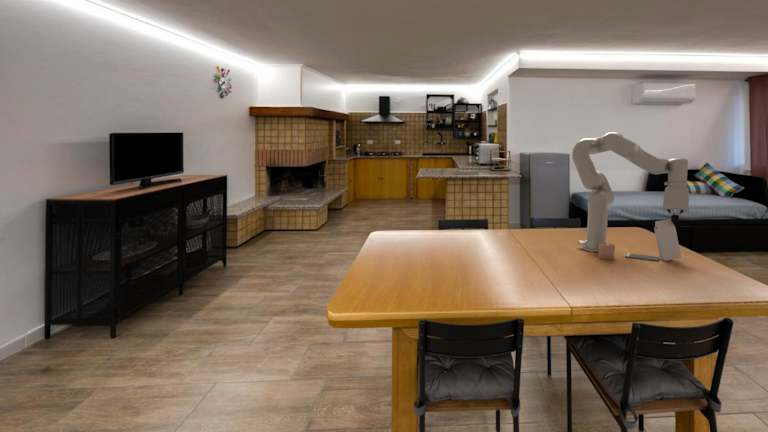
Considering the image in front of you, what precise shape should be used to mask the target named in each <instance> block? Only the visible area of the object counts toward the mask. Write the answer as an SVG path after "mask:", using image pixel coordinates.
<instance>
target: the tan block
mask: <svg viewBox="0 0 768 432" xmlns="http://www.w3.org/2000/svg"><path fill="white" fill-rule="evenodd" d="M615 249H616V244H614V243H609V242H606V243H600V244H599V252H598V256H597V257H598V259H599V260H603V261H613V260H615V252H616V251H615Z"/></svg>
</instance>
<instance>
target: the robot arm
mask: <svg viewBox="0 0 768 432" xmlns="http://www.w3.org/2000/svg"><path fill="white" fill-rule="evenodd" d="M609 151H610V152H612V153H615V155H618V156H620V157H622V158H623V159H625V160H628V162H630V163H632V164H634V165H635V166H636V167H638V168H640V169H642V170H644V171H646V172H647V173H649V174H652V175H661V174H667V181H665V182H663V184H664V186H666V187H665V189H664V193H663V198H662V199H663V200H662V201H663V202H662V211H665V212H668V213H669V214H670V215H671V217H670V219H671V221H672V222H673V224H674V225H675V224H678V222H679V220H680V215H681V214H683V213H686V212H689V211H690V207H689V206H690V192H689V191H690V190H689V187H688V186H687V184H688V169H689V167H688V166H689V160H688V159H687V158H685V157H684V158H683V157H682V158H664V157H663V158H662V157H659V158H658V157H656V156H655V155H652V154H650V153H649V152H647V151H645V150H644V149H642V147H641V146H640V145H639V144H637V143H635V142H634V141H631V140H630V139H628V138H626V137H624V136H623V134H621V132H614V131H611V132H607V133H605V134H604V135H603V136H598V137H594V138H589V137H588V138H587V137H586V138H582V139H581V140H579V141H578V142H577V143H576V144H575V145H574V147H573V149H572V154H571V156H572V160H573V163H574V166H575V168H576V171H577V173H578V176H579V179H580V180H581V183H582V186H583V187H584V188H585V189H586V190H589V191H591V194H589V196H588V199H587V225H586V238H585V240H577V244H578V245H581V246H582V245H583V246H582V250H584V251H587V252H593V253H599V244H600V243H607V231H608V217H609V215H608V213H609V212H608V207H610V206H612V205H613V203H614V201H615V196H614V195H615V194H614V193H613V190H612V188H611V186H610V183H609V180H608V179H607V177H606V175H605V174H604V173H603V172H601V171H597V169H596V167H595V164H594V162H593V161H592V159H591V157H590V155H595V154H601V153H605V152H609ZM675 210H676V213H675Z"/></svg>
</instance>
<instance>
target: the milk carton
mask: <svg viewBox="0 0 768 432" xmlns="http://www.w3.org/2000/svg"><path fill="white" fill-rule="evenodd" d="M654 223H655V225H654V235H655V240H656V245H657V249H658V255H659V256H658V257H659V260H663V261H666V262H667V261H673V260H679V259H682V253H681V250H680V249H681V248H680V243H679V240H678V239H679V238H678V234H677V229H676V226H675V223H673V221H671V218H669V219H663V220H657V221H654Z"/></svg>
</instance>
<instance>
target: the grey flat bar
mask: <svg viewBox="0 0 768 432" xmlns="http://www.w3.org/2000/svg"><path fill="white" fill-rule="evenodd" d="M624 258H626V259H635V260H643V261H649V262H658V261H659V260H660V256H656V255H655V256H654V255H647V254H638V253H630V252H627V254H625V256H624Z"/></svg>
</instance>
